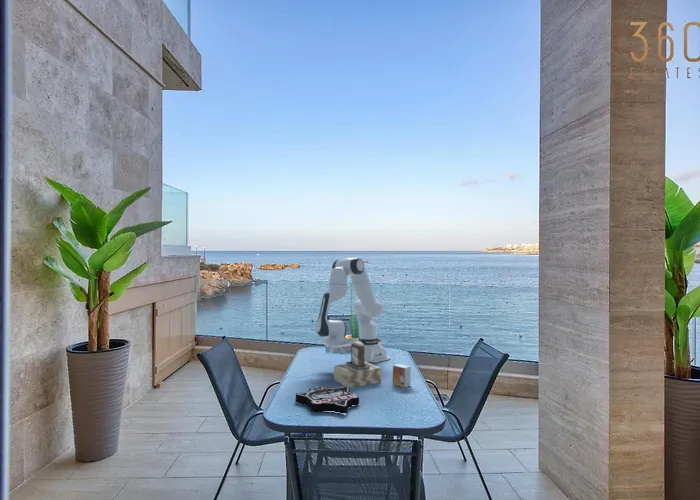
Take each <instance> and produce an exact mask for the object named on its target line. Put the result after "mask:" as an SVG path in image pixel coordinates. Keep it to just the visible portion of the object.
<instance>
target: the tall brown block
mask: <svg viewBox="0 0 700 500" xmlns="http://www.w3.org/2000/svg"><path fill="white" fill-rule="evenodd" d="M364 350H365V346H364V345H361V344H358V343H353V344H351V352H350V355H351V357H350V362H351V364H352V365H355V366H357V367H362V366H364Z"/></svg>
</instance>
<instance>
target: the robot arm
mask: <svg viewBox="0 0 700 500" xmlns="http://www.w3.org/2000/svg"><path fill="white" fill-rule="evenodd" d="M349 276H350V281H351V283H352V287H353V290H354V294H355V296H357V298H358V299H357V300H355V302H354V303H353V311H354V312H355V314H357V317H358V322H359V341H355V339H346V338H345V336H346V335H347V325H346V323H345V322H344V321H343V320H339V319H328V316H329V310H330V306H331V304H333V303H334V302H336V301H340V300H342V299H343V298H344V297H346V295H347V292H348V277H349ZM328 283H329V284H328V286H329V287H328V290H327V291H326V292H325V293H324V294H323V296H322V301H321V303H320V310H319V314H318V318H317V322H316V325H315V332H316V334H317V335H318V336H319V337H320V338H321V337H322V338H323V343H324V346H325V347H326V349H327V350H329V352H330V353H331V354H335V355H336V354H340V355H341V354H342V355H345V354H347V353H351V344H353V343H358V344H361V345H364V346H365V350H364V361H366V362H368V363H379V362H384V361H388V360H391V357H390V356H389V355H388V353H387V349H386V348H385V347H383V346H382V345H381V344H380V343H381V342H382V339H381V338H377V326H376V323H375V321H374V319H377V318H380V317H381V316H383V313H384V306H383V305H382V303H380V301H379V300H378V299H377V296H376V295H375V293H374V291H373V290H372V289H373V288H372V285H371V282H370V278H369V275H368V273H367V270H366V268H365V263H364V261H363V260H362V258H360V257H346V258H341V259H336V260H335V261H334V262H333V263H332V266H331V271H330V276H329V282H328ZM379 342H380V343H379Z"/></svg>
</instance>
